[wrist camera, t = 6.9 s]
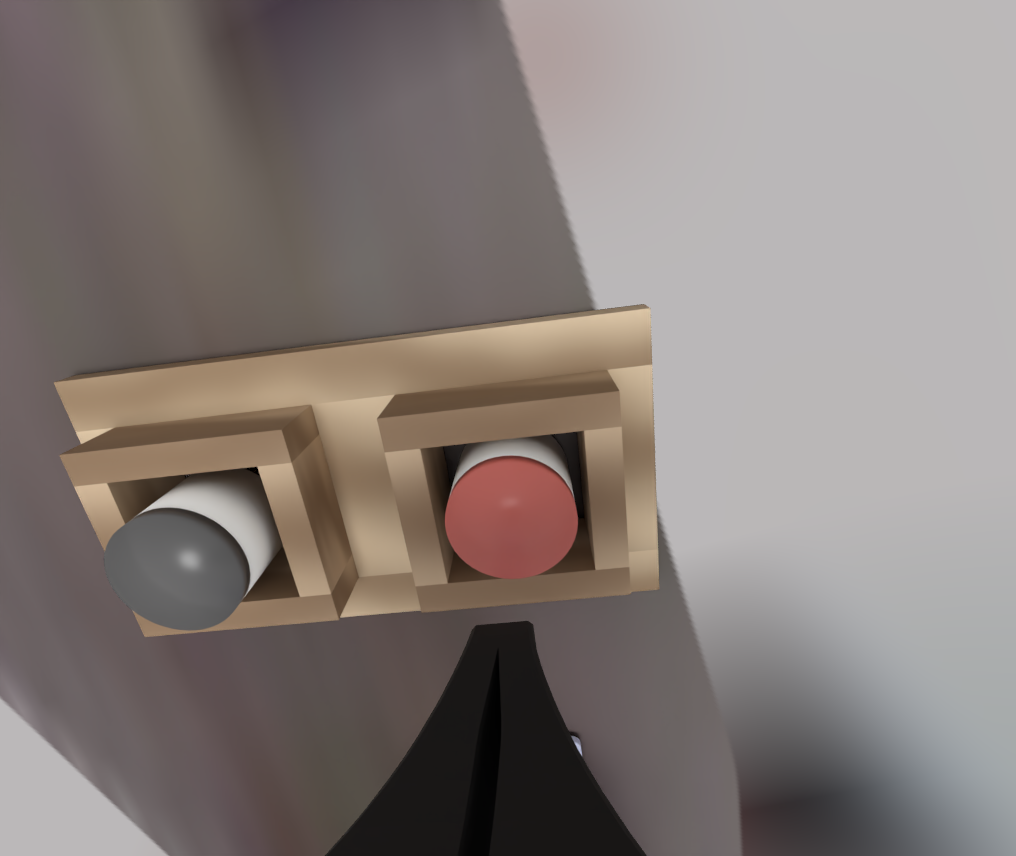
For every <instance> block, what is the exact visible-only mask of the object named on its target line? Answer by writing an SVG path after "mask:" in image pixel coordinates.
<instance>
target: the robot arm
mask: <svg viewBox="0 0 1016 856" xmlns="http://www.w3.org/2000/svg"><path fill="white" fill-rule="evenodd" d="M325 856H647V855H646V854H645V853H644V851H643V850H642V849H641V847H640V846H639V844H638V843H637V842H636V840H635V839H634V838H633V836H632V835H631V834H630V832H629V831H628V829H627V828H626V826H625V825H624V823H623V822H622V820H621V819H620V817H619V816H618V814H617V813H616V811H615V810H614V808H613V807H612V805H611V804H610V802H609V801H608V799H607V798H606V796H605V795H604V793H603V792H602V790H601V788H600V787H599V785H598V783H597V782H596V780H595V778H594V777H593V775H592V773H591V772H590V770H589V768H588V766H587V765H586V763H585V761H584V759H583V757H582V751H581V742H580V740H579V739H578V738H577V737H575V736H571V735H570V733H569V731H568V729H567V727H566V725H565V723H564V721H563V718H562V716H561V714H560V712H559V710H558V708H557V705H556V703H555V701H554V698H553V696H552V693H551V691H550V688H549V686H548V683H547V681H546V678H545V675H544V673H543V670H542V667H541V664H540V660H539V657H538V653H537V649H536V642H535V635H534V628H533V624H531V623H530V622H529V621H521V622H510V623H498V624H487V625H476V626H475V627H474V628H473V629H472V631H471V634H470V637H469V639H468V642H467V644H466V647H465V649H464V651H463V653H462V656H461V658H460V660H459V662H458V664H457V666H456V668H455V671H454V673H453V675H452V677H451V678H450V680H449V682H448V684H447V686H446V688H445V690H444V692H443V694H442V696H441V698H440V699H439V701H438V703H437V705H436V707H435V708H434V710H433V712H432V713H431V715H430V717H429V718H428V720H427V722H426V724H425V725H424V727H423V729H422V730H421V732H420V734H419V735H418V737H417V738H416V740H415V742H414V743H413V745H412V746H411V748H410V749H409V751H408V752H407V754H406V755H405V757H404V758H403V760H402V761H401V762H400V764H399V765H398V767H397V768H396V770H395V771H394V772H393V774H392V775H391V777H390V778H389V779H388V781H387V782H386V783H385V785H384V786H383V787H382V789H381V790H380V791H379V792H378V794H377V795H376V796H375V798H374V799H373V800H372V801H371V803H370V804H369V805H368V807H367V808H366V809H365V810H364V812H363V813H362V814H361V815H360V817H359V818H358V819H357V820H356V821H355V823H354V824H353V825H352V826H351V827H350V828H349V829H348V831H347V832H346V833H345V834H344V835H343V836H342V837H341V838H340V840H339V841H338V842H337V843H336V844H335V845H334V846H333V847H332V848H331V850H330V851H329V852H328V853H327V854H326V855H325Z"/></svg>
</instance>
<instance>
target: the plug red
mask: <svg viewBox="0 0 1016 856" xmlns="http://www.w3.org/2000/svg"><path fill="white" fill-rule="evenodd" d="M577 527H578V516H577V510H576V505H575V499H574V494H573V489H572V484H571V479H570V473H569V468H568V463H567V459H566V456H565V453H564V451H563V449H562V448H561V446H560V445H559V443H558V442H557V441H556V440H555V439H554V438H553V437H552V436H551V435H541V436H531V437H522V438H513V439H504V440H495V441H486V442H477V443H468V444H466V446H465V447H464V449H463V451H462V453H461V456H460V459H459V463H458V466H457V470H456V474H455V477H454V481H453V485H452V489H451V492H450V496H449V500H448V503H447V507H446V512H445V528H446V533H447V537H448V539H449V542H450V544H451V546H452V547H453V549H454V551H455V552H456V553H457V554H458V556H459V557H460V558H461V559H462V560H463V561H464V562H465V563H467V564H468V565H469V566H471V567H472V568H474V569H476V570H478V571H479V572H482V573H484V574H486V575H490V576H493V577H498V578H504V579H520V578H527V577H531V576H535V575H538V574H540V573H543V572H545V571H547V570H548V569H550V568H552V567H553V566H555V565H556V564H557V563H558V562H559V561H561V560H562V559H563V558H564V556H565V555H566V554H567V553H568V551H569V550H570V548H571V547H572V544H573V542H574V540H575V537H576V533H577Z"/></svg>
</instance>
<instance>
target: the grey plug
mask: <svg viewBox="0 0 1016 856" xmlns="http://www.w3.org/2000/svg"><path fill="white" fill-rule="evenodd" d="M282 546H283V544H282V541H281V538H280V534H279V531H278V528H277V525H276V522H275V519H274V516H273V513H272V510H271V507H270V504H269V501H268V498H267V495H266V492H265V489H264V486H263V483H262V480H261V477H260V476H258V475H257V474H255V473H253V472H251V471H248V470H246V469H243V468H239V469H230V470H221V471H212V472H203V473H194V474H191V475H190V476H189V477H187V478H186V479H185V480H183V481H182V482H181V483H179V484H178V485H177V486H175V487H174V488H173V489H171V490H170V491H169V492H167V493H166V494H165V495H163V496H162V497H161V498H159V499H158V500H157V501H155V502H154V503H153V504H151V505H150V506H149V507H147V508H146V509H145V510H143V511H142V512H141V513H139V514H138V515H137V516H135V517H134V518H133V519H131V520H130V521H129V522H127V523H126V524H125V525H123V526H122V527H121V528H119V529H118V530H117V531H116V532H115V533H114V534H113V535H112V537H111V538H110V540H109V542H108V544H107V546H106V549H105V553H104V566H105V571H106V575H107V578H108V580H109V583H110V585H111V586H112V588H113V590H114V591H115V593H116V594H117V595H118V597H119V598H120V599H121V600H122V601H123V602H124V603H125V604H126V605H127V606H128V607H129V608H130V609H131V610H133V611H134V612H136V613H137V614H138V615H140V616H142V617H143V618H145V619H147V620H149V621H151V622H153V623H155V624H158V625H161V626H164V627H167V628H171V629H177V630H187V631H190V630H202V629H206V628H210V627H213V626H215V625H218V624H220V623H221V622H223V621H225V620H226V619H227V618H228V617H229V616H230V615H231V614H232V613H233V612H234V611H235V609H236V608H237V607H238V605H239V604H240V603H241V601H242V600H243V599H244V597H245V596H246V595H247V593H248V592H249V591H250V589H251V588H252V587H253V585H254V584H255V582H256V581H257V580H258V578H259V577H260V576H261V574H262V573H263V572H264V570H265V569H266V568H267V566H268V565H269V564H270V562H271V561H272V560H273V558H274V557H275V556H276V554H277V553H278V552H279V550H280V549H281V548H282Z"/></svg>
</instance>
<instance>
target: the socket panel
mask: <svg viewBox="0 0 1016 856" xmlns="http://www.w3.org/2000/svg"><path fill="white" fill-rule="evenodd" d="M652 380H653V378H652V346H651V317H650V308H649V307H647V306H646V305H644V304H641V305H634V306H625V307H617V308H609V309H601V310H593V311H585V312H577V313H569V314H561V315H553V316H545V317H537V318H529V319H521V320H513V321H505V322H497V323H489V324H481V325H473V326H465V327H457V328H449V329H441V330H433V331H425V332H417V333H409V334H401V335H393V336H385V337H377V338H369V339H361V340H353V341H345V342H337V343H329V344H321V345H313V346H305V347H297V348H290V349H282V350H274V351H266V352H258V353H250V354H242V355H234V356H226V357H218V358H210V359H202V360H194V361H186V362H178V363H170V364H162V365H154V366H146V367H138V368H130V369H122V370H114V371H106V372H98V373H90V374H82V375H74V376H71V377H68V378H65V379H62V380H59V381H56V382H54V384H55V387H56V389H57V391H58V393H59V396H60V398H61V400H62V402H63V404H64V407H65V409H66V411H67V413H68V416H69V418H70V420H71V422H72V424H73V427H74V429H75V431H76V433H77V435H78V438H79V440H80V442H81V445H79V446H77V447H75V448H73V449H71V450H69V451H67V452H64V453H62V454H60V458H61V460H62V462H63V464H64V466H65V468H66V470H67V472H68V475H69V477H70V479H71V481H72V483H73V485H74V487H75V489H76V492H77V494H78V496H79V498H80V500H81V502H82V504H83V506H84V509H85V511H86V513H87V515H88V517H89V519H90V521H91V523H92V526H93V528H94V530H95V532H96V534H97V536H98V538H99V540H100V543H101V545H102V547H103V549H104V551H105V549H106V546H107V544H108V542H109V540H110V538H111V537H112V535H113V534H114V533H115V532H116V531H117V530H118V529H119V528H121V527H122V526H123V525H125V524H126V523H127V522H129V521H130V520H131V519H133V518H134V517H135V516H137V515H138V514H139V513H141V512H142V511H143V510H145V509H146V508H147V507H149V506H150V505H151V504H153V503H154V502H155V501H157V500H158V499H159V498H161V497H162V496H163V495H165V494H166V493H167V492H169V491H170V490H171V489H173V488H174V487H175V486H177V485H178V484H179V483H181V482H182V481H183V480H185V479H186V478H185V476H184V475H185V474H194V473H203V472H212V471H221V470H230V469H239V468H249V467H258V470H259V473H260V477H261V480H262V483H263V486H264V489H265V492H266V495H267V498H268V501H269V504H270V507H271V510H272V513H273V516H274V519H275V522H276V525H277V528H278V531H279V534H280V538H281V541H282V544H283V547H284V548H281V549H280V550H279V552H278V553H277V554H276V556H275V557H274V558H273V560H272V561H271V562H270V564H269V565H268V566H267V568H266V569H265V570H264V572H263V573H262V574H261V576H260V577H259V578H258V580H257V581H256V582H255V584H254V585H253V587H252V588H251V589H250V591H249V592H248V593H247V595H246V596H245V597H244V599H243V600H242V601H241V603H240V604H239V605H238V607H237V608H236V609H235V611H234V612H233V613H232V614H231V615H230V616H229V617H228V618H227V619H226V620H225V621H223V622H221V623H220V624H218V625H215V626H213V627H210V628H206V629H202V630H190V631H187V630H177V629H171V628H167V627H164V626H161V625H158V624H155V623H153V622H151V621H149V620H147V619H145V618H143V617H142V616H140V615H138V614H137V613H136V612H134V611H133V613H134V615H135V617H136V619H137V621H138V623H139V625H140V627H141V630H142V632H143V634H144V636H145V637H150V636H161V635H173V634H184V633H195V632H207V631H218V630H230V629H241V628H252V627H264V626H275V625H287V624H298V623H309V622H321V621H332V620H339V619H340V617H351V616H362V615H374V614H385V613H397V612H408V611H419V610H421V613H423V612H435V611H446V610H458V609H469V608H481V607H492V606H503V605H515V604H526V603H538V602H549V601H560V600H572V599H583V598H595V597H606V596H617V595H629V594H631V592H635V591H647V590H658V589H659V566H658V535H657V503H656V472H655V443H654V409H653V381H652ZM568 432H577V438H578V450H579V461H580V472H581V484H582V495H583V506H584V518H580V519H578V527H577V533H576V537H575V540H574V542H573V544H572V547H571V548H570V550H569V551H568V553H567V554H566V555H565V556H564V558H563V559H562V560H561V561H559V562H558V563H557V564H556V565H555V566H553V567H552V568H550V569H548V570H547V571H545V572H543V573H540V574H538V575H535V576H531V577H527V578H520V579H504V578H498V577H493V576H490V575H486V574H484V573H482V572H479V571H478V570H476V569H474V568H472V567H471V566H469V565H468V564H467V563H465V562H464V561H463V560H462V559H461V558H460V557H459V556H458V554H457V553H456V552H455V551H454V549H453V547H452V546H451V544H450V542H449V539H448V537H447V533H446V528H445V512H446V507H447V503H448V500H449V496H450V492H451V487H450V481H449V476H448V471H447V465H446V460H445V455H444V449H443V446H449V445H458V444H468V443H477V442H486V441H495V440H504V439H513V438H522V437H531V436H541V435H550V434H559V433H568Z"/></svg>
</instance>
